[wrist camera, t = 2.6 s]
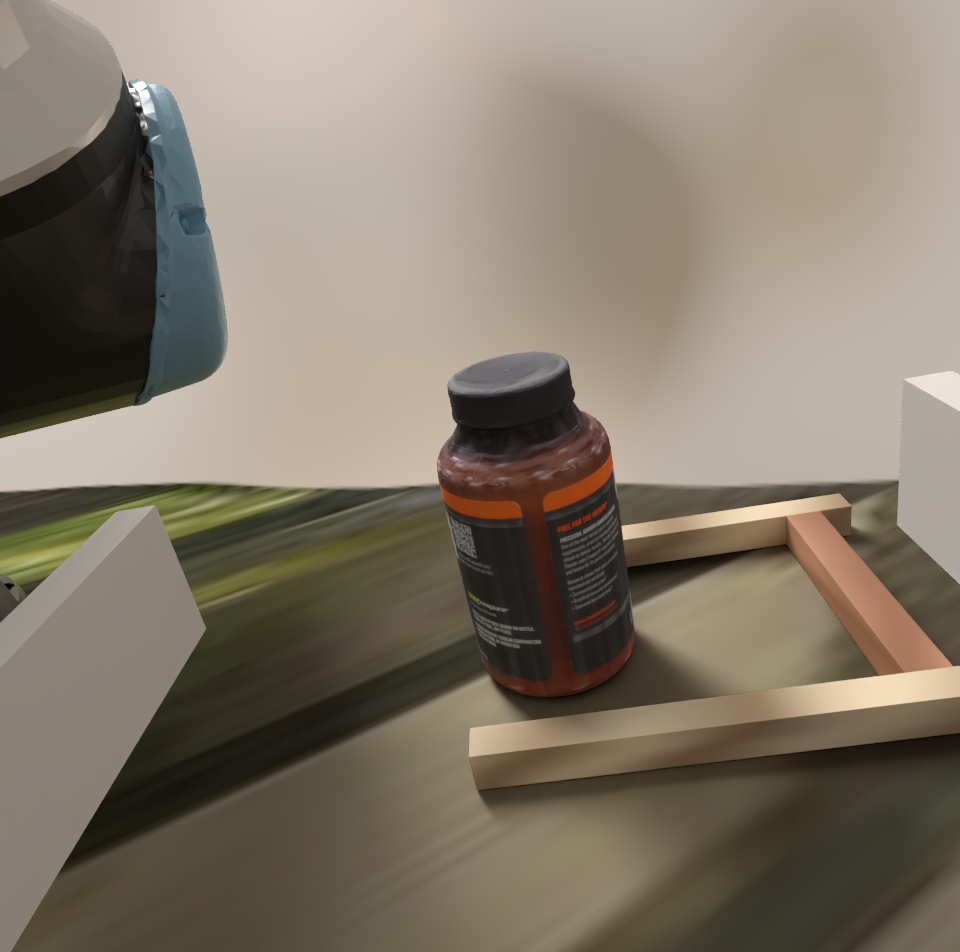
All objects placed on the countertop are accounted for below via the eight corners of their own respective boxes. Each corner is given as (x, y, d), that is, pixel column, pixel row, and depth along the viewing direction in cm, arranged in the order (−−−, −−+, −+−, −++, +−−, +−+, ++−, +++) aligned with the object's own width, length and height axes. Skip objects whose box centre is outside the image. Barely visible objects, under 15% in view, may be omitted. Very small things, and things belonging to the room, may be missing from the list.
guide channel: (477, 790, 23) (468, 757, 22) (483, 573, 34) (477, 547, 34) (1019, 725, 21) (1025, 688, 21) (838, 521, 33) (839, 493, 32)
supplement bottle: (653, 612, 29) (624, 335, 25) (613, 719, 25) (569, 401, 20) (515, 598, 32) (465, 345, 27) (455, 692, 27) (383, 406, 23)
